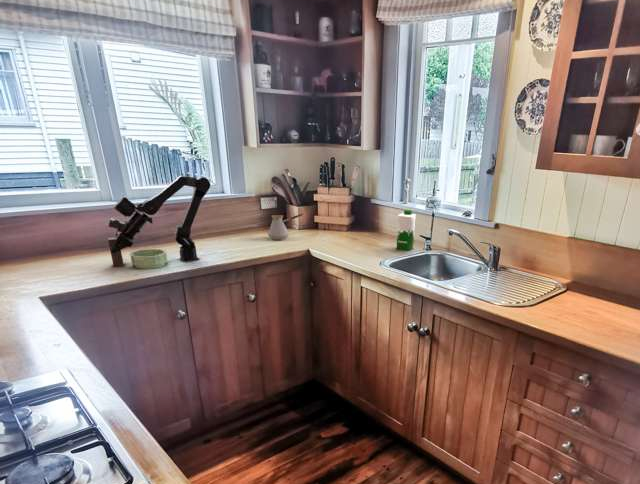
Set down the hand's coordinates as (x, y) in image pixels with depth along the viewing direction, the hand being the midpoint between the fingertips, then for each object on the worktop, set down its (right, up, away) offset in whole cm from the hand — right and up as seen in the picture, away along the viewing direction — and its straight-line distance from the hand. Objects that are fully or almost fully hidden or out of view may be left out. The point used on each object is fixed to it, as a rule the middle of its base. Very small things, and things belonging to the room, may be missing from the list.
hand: (112, 251), depth 203 cm
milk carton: (+132, +11, +49) cm, 141 cm away
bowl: (+14, -5, +6) cm, 16 cm away
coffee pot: (+65, +18, +60) cm, 90 cm away
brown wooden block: (+1, -6, +3) cm, 7 cm away
